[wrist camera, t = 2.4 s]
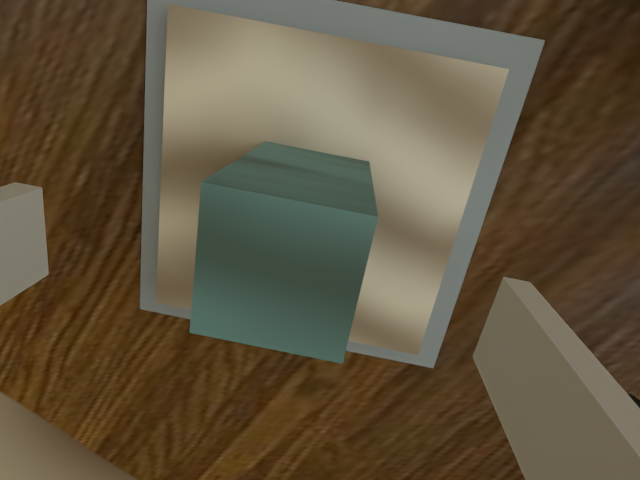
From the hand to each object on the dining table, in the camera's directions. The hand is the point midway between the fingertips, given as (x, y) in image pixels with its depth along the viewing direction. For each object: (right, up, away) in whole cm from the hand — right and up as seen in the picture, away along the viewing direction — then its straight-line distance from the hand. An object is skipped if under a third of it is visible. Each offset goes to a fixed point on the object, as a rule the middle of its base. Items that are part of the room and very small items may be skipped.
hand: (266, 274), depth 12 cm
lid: (+1, +3, +10) cm, 10 cm away
